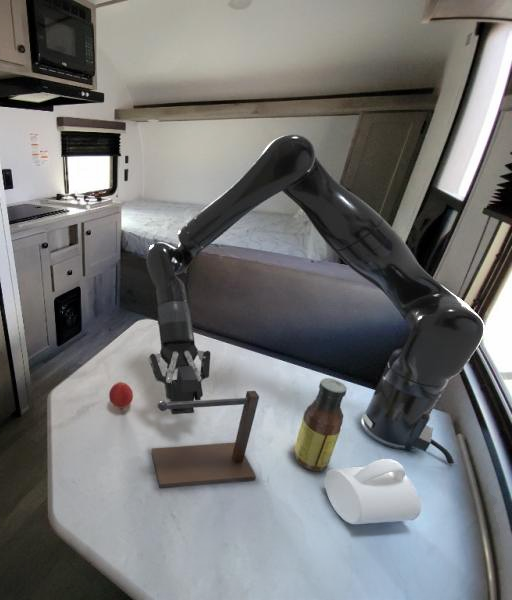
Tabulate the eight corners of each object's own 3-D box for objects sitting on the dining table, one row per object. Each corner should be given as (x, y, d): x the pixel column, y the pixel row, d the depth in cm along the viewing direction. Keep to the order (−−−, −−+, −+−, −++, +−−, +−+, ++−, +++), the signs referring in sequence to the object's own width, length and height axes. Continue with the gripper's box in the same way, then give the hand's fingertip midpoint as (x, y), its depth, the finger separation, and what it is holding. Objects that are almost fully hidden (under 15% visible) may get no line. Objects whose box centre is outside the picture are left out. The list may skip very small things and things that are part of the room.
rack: (255, 480, 63) (275, 409, 54) (157, 488, 61) (163, 416, 53) (237, 445, 70) (253, 378, 62) (149, 452, 69) (153, 384, 60)
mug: (319, 487, 61) (338, 443, 56) (371, 484, 62) (394, 440, 56) (351, 535, 54) (376, 489, 48) (409, 531, 54) (440, 485, 49)
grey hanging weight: (168, 404, 73) (172, 363, 68) (190, 403, 73) (195, 362, 68) (174, 422, 68) (178, 380, 63) (197, 421, 69) (203, 378, 64)
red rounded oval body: (105, 411, 79) (105, 386, 76) (114, 396, 84) (114, 371, 80) (128, 418, 77) (128, 392, 74) (135, 401, 82) (136, 377, 78)
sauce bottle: (322, 451, 68) (352, 377, 60) (330, 477, 63) (364, 400, 54) (288, 443, 70) (312, 370, 62) (293, 467, 65) (320, 392, 56)
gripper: (146, 321, 70) (155, 402, 64) (210, 318, 71) (224, 398, 65) (142, 329, 77) (149, 403, 71) (200, 326, 78) (212, 399, 72)
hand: (185, 400), depth 68 cm, fingers closed on grey hanging weight, 5 cm apart
